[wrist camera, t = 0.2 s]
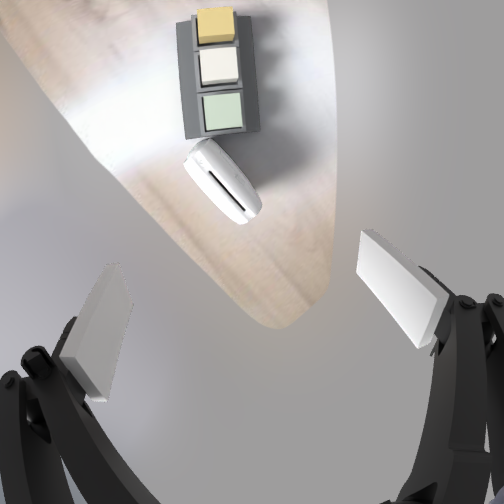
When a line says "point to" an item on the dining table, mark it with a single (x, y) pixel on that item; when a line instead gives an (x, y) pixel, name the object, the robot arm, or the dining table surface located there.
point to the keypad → (196, 90)
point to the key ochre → (215, 24)
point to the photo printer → (223, 181)
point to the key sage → (223, 111)
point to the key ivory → (218, 65)
